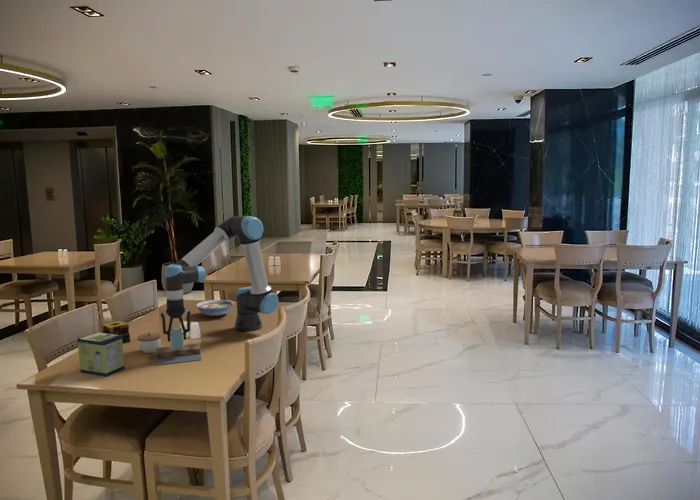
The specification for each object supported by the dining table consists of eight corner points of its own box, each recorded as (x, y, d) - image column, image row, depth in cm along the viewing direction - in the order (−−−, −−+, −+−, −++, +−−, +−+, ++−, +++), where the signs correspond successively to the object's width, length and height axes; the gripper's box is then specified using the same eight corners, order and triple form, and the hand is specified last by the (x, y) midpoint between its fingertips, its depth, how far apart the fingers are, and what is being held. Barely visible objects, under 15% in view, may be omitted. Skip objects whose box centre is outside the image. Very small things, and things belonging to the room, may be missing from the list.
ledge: (199, 349, 259) (199, 343, 259) (200, 354, 252) (200, 348, 251) (156, 354, 253) (156, 348, 253) (156, 359, 245) (155, 353, 245)
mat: (200, 354, 251) (200, 354, 251) (201, 360, 243) (201, 359, 243) (156, 360, 245) (155, 359, 244) (155, 365, 237) (155, 364, 237)
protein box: (98, 364, 240) (95, 331, 238) (125, 368, 234) (122, 334, 232) (79, 372, 230) (76, 338, 228) (106, 377, 224) (103, 341, 222)
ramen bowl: (193, 313, 332) (193, 300, 331) (230, 308, 341) (229, 296, 340) (200, 322, 309) (199, 308, 308) (239, 317, 319) (238, 304, 318)
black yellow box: (130, 342, 273) (129, 323, 272) (111, 346, 266) (109, 327, 265) (122, 338, 280) (120, 320, 279) (102, 343, 273) (101, 324, 272)
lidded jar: (166, 348, 261) (165, 330, 260) (151, 355, 251) (150, 336, 250) (148, 347, 264) (147, 328, 263) (133, 353, 254) (132, 334, 253)
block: (182, 345, 250) (181, 327, 249) (182, 348, 246) (181, 329, 244) (172, 347, 248) (171, 328, 247) (172, 349, 244) (171, 330, 243)
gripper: (194, 295, 250) (196, 343, 253) (154, 298, 245) (157, 346, 248) (194, 298, 243) (197, 347, 246) (154, 301, 238) (157, 351, 241)
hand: (177, 347), depth 247 cm, fingers closed on block, 4 cm apart
